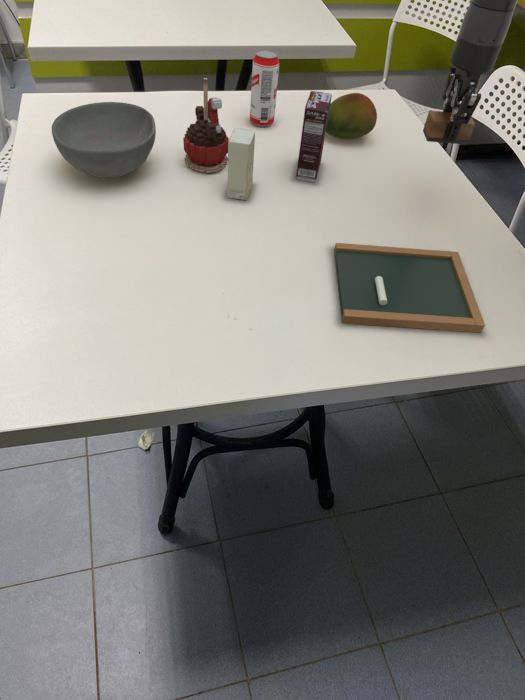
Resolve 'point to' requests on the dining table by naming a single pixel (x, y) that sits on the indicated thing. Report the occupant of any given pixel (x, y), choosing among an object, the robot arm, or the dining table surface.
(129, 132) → the bowl
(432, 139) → the eraser
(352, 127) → the fruit
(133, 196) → the dining table surface
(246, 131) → the cosmetic box
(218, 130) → the cake
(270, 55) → the beer can
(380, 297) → the chalk
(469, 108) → the robot arm
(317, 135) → the supplement box
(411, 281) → the slate board
